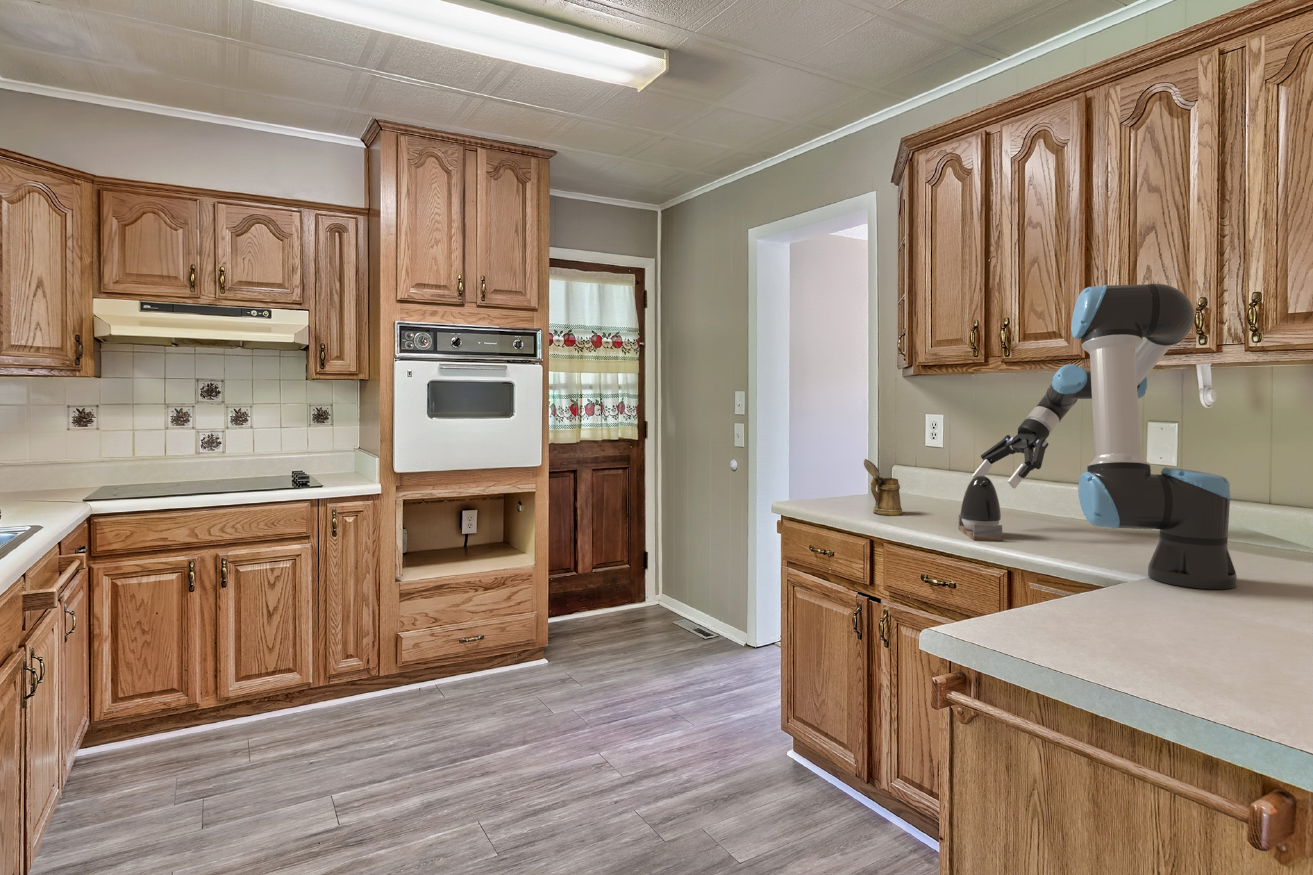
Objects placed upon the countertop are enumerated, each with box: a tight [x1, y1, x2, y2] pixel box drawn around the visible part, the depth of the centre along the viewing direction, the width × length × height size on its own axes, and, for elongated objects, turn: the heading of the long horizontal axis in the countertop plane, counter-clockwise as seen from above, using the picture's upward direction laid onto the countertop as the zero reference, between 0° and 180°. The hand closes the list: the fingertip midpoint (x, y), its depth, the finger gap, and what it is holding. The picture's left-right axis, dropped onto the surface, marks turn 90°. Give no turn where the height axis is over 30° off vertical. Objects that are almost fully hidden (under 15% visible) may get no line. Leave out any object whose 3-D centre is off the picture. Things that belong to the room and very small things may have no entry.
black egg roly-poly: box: [959, 475, 1002, 531], centre depth 205 cm, size 10×10×15 cm
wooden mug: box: [863, 458, 904, 517], centre depth 240 cm, size 9×14×18 cm, turn 109°
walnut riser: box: [957, 514, 1003, 542], centre depth 206 cm, size 16×7×4 cm, turn 172°
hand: (992, 482), depth 207 cm, fingers open, 13 cm apart
